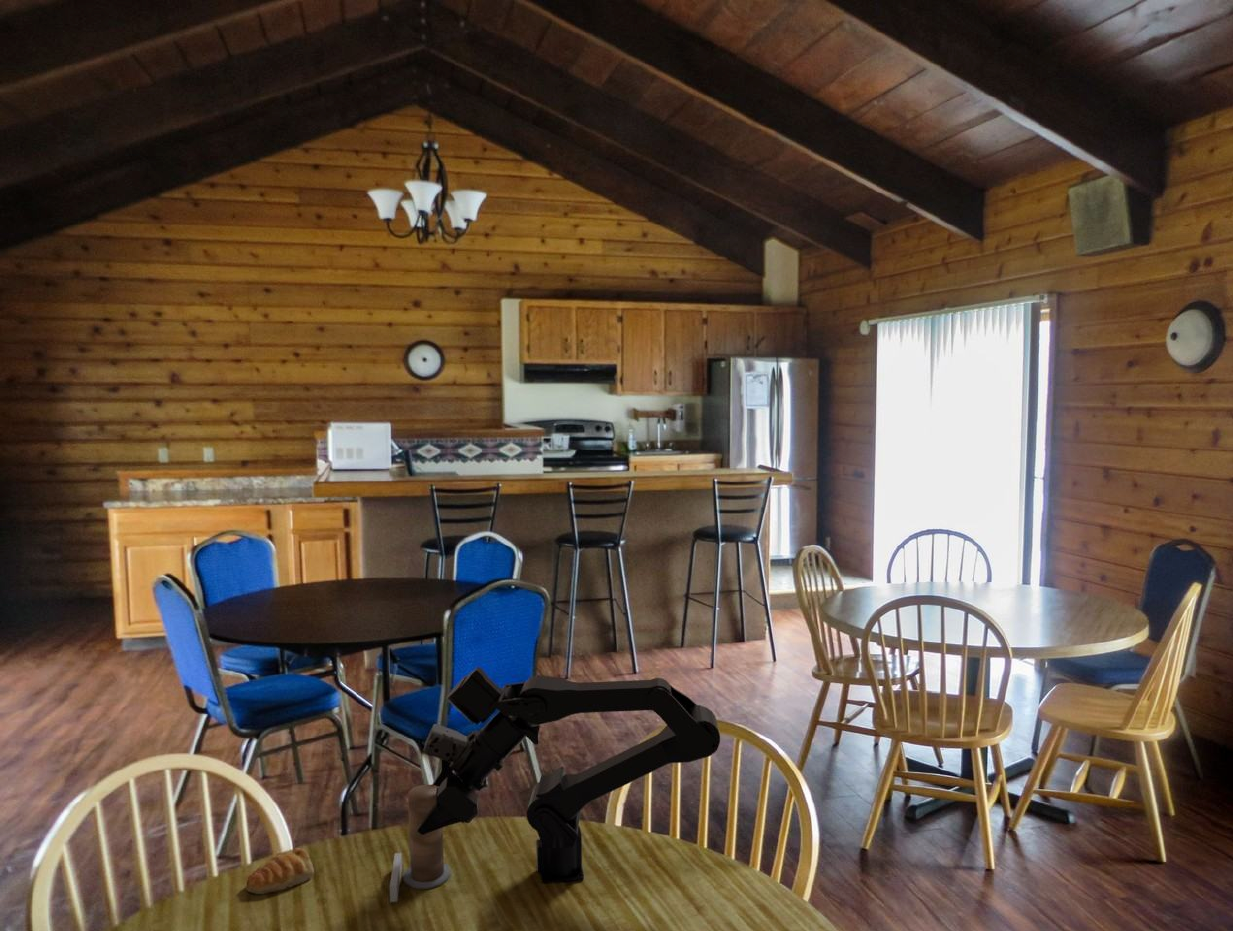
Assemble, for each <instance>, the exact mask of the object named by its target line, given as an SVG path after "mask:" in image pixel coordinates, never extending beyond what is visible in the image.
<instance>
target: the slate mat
mask: <svg viewBox="0 0 1233 931" xmlns="http://www.w3.org/2000/svg"><path fill="white" fill-rule="evenodd" d="M450 868H451V867H450V866H449V865H447V864H446V863H445V862H444V873H443V875H442V876H441V877H440V878H438V879H436V880H434V881H430V882H418V881H415V880H413V879H412V878H411V866H409V867H408V868H407V869H405V871H404V872H403V882H404V884H405V885H406V886H407V887H409V888H411V889H416V890H428V889H429V890H430V889H433V888H437V887H440V886H441V885H443V884H445V883H446V882H447V881H448V880H449V878H450V876H451V869H450Z"/></svg>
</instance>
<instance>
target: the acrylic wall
mask: <svg viewBox="0 0 1233 931" xmlns="http://www.w3.org/2000/svg"><path fill="white" fill-rule="evenodd" d="M402 868H403V860H402V852H395V853H394V856H393V863H392V868H391V869H392V870H391V877H390V884H389V902H390V903H395V902H398V899H399V893H400V892H399V891H400V884H401V876H402V870H403V869H402Z"/></svg>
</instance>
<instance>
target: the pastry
mask: <svg viewBox="0 0 1233 931" xmlns="http://www.w3.org/2000/svg"><path fill="white" fill-rule="evenodd" d="M314 873H315V869H314V865H313V863H312V861H311V859H310V856H309V854H308V852H307V851H306V850H305V849H304V848H303V847H302V848H301V847H300V848H299V847H295V848H294V849H293V850H292V851H287V852H284V853H281V854H277V855H275V856H272V857H271V858H270V860H268V861H267V862H266V863H265V864H263V865H262V866H259V867H257V869H255V871H253V872H252V873H251V874H249V876H248V877H247V880H246V884H245V885H246V886H245V889H246V891H247V892H249V893H252V894H256V895H265V893H266V894H268V893H274V892H281V891H284V889H285V890H286V889H288V888H287V887H289V888H291V887H290V886H292V887H294V886H293V885H295V886H297V885H300V884H302V883H305V882H307V881H308V880H311V878H312V877H313V875H314ZM304 881H305V882H304ZM301 882H302V883H301ZM299 883H300V884H299ZM296 884H297V885H296ZM280 890H281V891H280Z"/></svg>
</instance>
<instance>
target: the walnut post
mask: <svg viewBox="0 0 1233 931" xmlns="http://www.w3.org/2000/svg"><path fill="white" fill-rule="evenodd" d="M437 787H438V786H436V785H432V784H421V785H417V786H415V787H412V788H411V789H410V790H408V793H407V797H408V798H407V799H408V801H407V802H408V804H407V805H408V821H409V822H408V829H409V830H408V832H409V833H408V834H409V860H410V862H409V864H410V866H409V867H411V878H412V879H413V880H415V881H418V882H430V881H434V880H436V879H438V878H440V877H441V876H442V875H443V873H444V863H445V862H444V861H445V859H444V830H443V829H444V827H443V828H440V829H437V830H435V831H432V832H429V833H427V834H424V835H421V834H420V833H419V832H418V831H417V830H418V828H419V826H420V825H421V823H422V822H423V820H424V819H425V817H426V816H427V815H428V813H429V812H430V810H431V809H432V808H433V806H434V805H435V803H436V790H437ZM438 788H439V787H438Z"/></svg>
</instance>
